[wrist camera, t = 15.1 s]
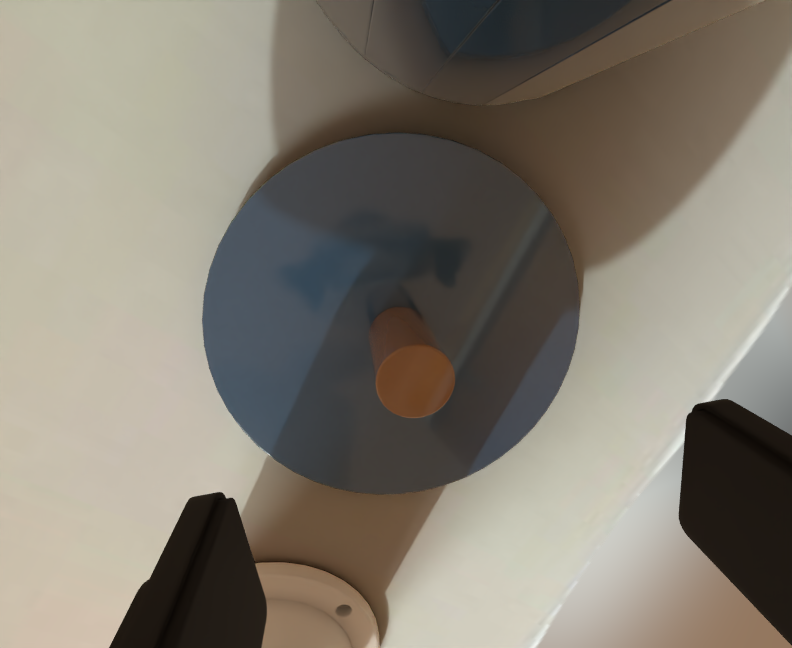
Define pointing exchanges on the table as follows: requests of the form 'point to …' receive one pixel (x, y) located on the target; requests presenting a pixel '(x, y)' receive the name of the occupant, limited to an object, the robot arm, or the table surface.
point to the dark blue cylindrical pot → (511, 40)
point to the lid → (390, 313)
